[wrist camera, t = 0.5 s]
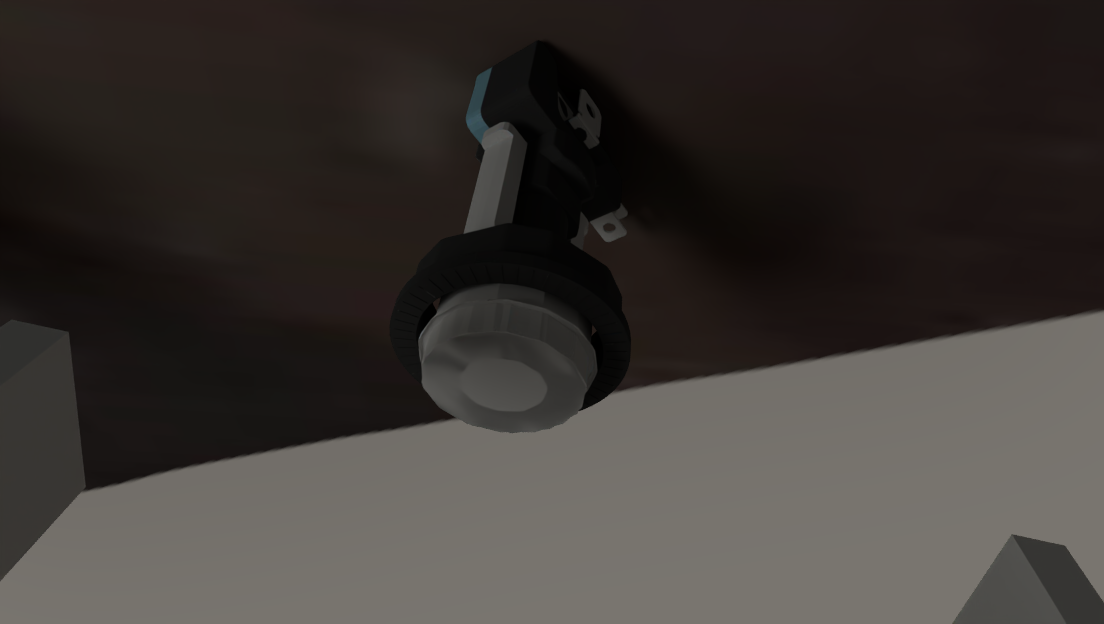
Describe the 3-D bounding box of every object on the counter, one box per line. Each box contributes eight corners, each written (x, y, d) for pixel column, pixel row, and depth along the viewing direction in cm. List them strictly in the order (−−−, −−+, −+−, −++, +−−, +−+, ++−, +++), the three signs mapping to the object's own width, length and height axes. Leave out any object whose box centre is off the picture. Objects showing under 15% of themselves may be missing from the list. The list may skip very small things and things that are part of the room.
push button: (690, 176, 24) (701, 450, 18) (549, 237, 27) (512, 497, 20) (576, -2, 20) (534, 263, 14) (424, 89, 23) (326, 351, 16)
